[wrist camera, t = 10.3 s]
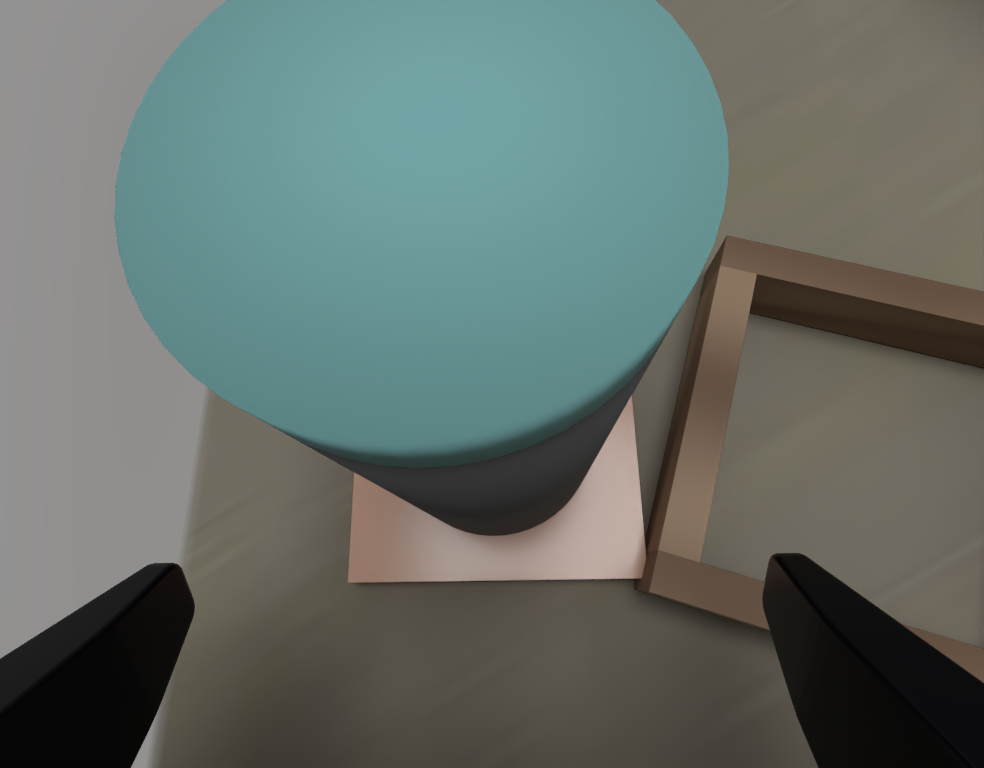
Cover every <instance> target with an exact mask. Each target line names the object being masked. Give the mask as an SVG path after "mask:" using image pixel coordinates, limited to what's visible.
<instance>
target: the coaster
mask: <svg viewBox="0 0 984 768" xmlns="http://www.w3.org/2000/svg"><path fill="white" fill-rule="evenodd" d="M645 562H646V548H645V537H644V526H643V515H642V504H641V493H640V482H639V471H638V460H637V449H636V439H635V428H634V417H633V406H632V395H631V397H630V399H629V401H628V402H627V404H626V406H625V408H624V410H623V411H622V413H621V415H620V417H619V418H618V420H617V422H616V424H615V425H614V427H613V429H612V431H611V432H610V434H609V436H608V438H607V439H606V441H605V443H604V445H603V446H602V448H601V450H600V452H599V453H598V455H597V457H596V459H595V460H594V462H593V464H592V466H591V467H590V469H589V471H588V473H587V474H586V476H585V478H584V480H583V481H582V483H581V485H580V487H579V488H578V490H577V491H576V493H575V494H574V496H573V497H572V498H571V499H570V501H569V502H568V503H567V504H566V505H565V506H564V507H563V508H562V509H561V510H560V511H559V512H558V513H556V514H555V515H554V516H553V517H551V518H550V519H548V520H547V521H545V522H544V523H542V524H540V525H538V526H536V527H533V528H531V529H528V530H525V531H522V532H519V533H515V534H510V535H501V536H486V535H477V534H472V533H468V532H464V531H462V530H459V529H456V528H453V527H451V526H450V525H448V524H446V523H444V522H442V521H440V520H439V519H437V518H435V517H433V516H431V515H430V514H428V513H426V512H424V511H422V510H421V509H419V508H417V507H415V506H414V505H412V504H410V503H408V502H406V501H405V500H403V499H401V498H399V497H397V496H396V495H394V494H392V493H390V492H389V491H387V490H385V489H383V488H381V487H380V486H378V485H376V484H374V483H373V482H371V481H369V480H367V479H365V478H364V477H362V476H360V475H358V474H356V473H355V472H354V486H353V503H352V520H351V538H350V555H349V572H348V583H358V582H427V581H495V580H564V579H633V578H642V575H643V570H644V566H645Z"/></svg>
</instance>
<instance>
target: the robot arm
mask: <svg viewBox="0 0 984 768" xmlns="http://www.w3.org/2000/svg"><path fill="white" fill-rule="evenodd" d="M762 603H763V609H764V613H765V616H766V620H767V623H768V626H769V629H770V633H771V636H772V639H773V642H774V645H775V649H776V652H777V655H778V658H779V662H780V665H781V668H782V671H783V675H784V678H785V681H786V684H787V687H788V691H789V694H790V697H791V700H792V703H793V706H794V709H795V712H796V715H797V717H798V720H799V722H800V725H801V727H802V730H803V732H804V735H805V737H806V740H807V742H808V744H809V747H810V749H811V751H812V754H813V756H814V758H815V761H816V763H817V765H818V768H984V683H983V682H982V681H981V680H979V679H978V678H976V677H975V676H974V675H972V674H971V673H969V672H968V671H967V670H965V669H964V668H962V667H961V666H960V665H958V664H957V663H955V662H954V661H953V660H951V659H950V658H948V657H947V656H946V655H944V654H943V653H941V652H940V651H939V650H937V649H936V648H934V647H933V646H931V645H930V644H929V643H927V642H926V641H924V640H923V639H922V638H920V637H919V636H917V635H916V634H915V633H913V632H912V631H910V630H909V629H908V628H906V627H905V626H903V625H902V624H901V623H899V622H898V621H896V620H895V619H894V618H892V617H891V616H889V615H888V614H887V613H885V612H884V611H882V610H881V609H880V608H878V607H877V606H875V605H874V604H873V603H871V602H870V601H868V600H867V599H865V598H864V597H863V596H861V595H860V594H858V593H857V592H856V591H854V590H853V589H851V588H850V587H849V586H847V585H846V584H844V583H843V582H842V581H840V580H839V579H837V578H836V577H835V576H833V575H832V574H830V573H829V572H828V571H826V570H825V569H823V568H822V567H821V566H819V565H818V564H816V563H815V562H814V561H812V560H811V559H809V558H808V557H806V556H805V555H803V554H800V553H776V554H773V555H772V556H771V557H770V560H769V563H768V568H767V573H766V578H765V583H764V588H763V594H762ZM194 609H195V605H194V599H193V596H192V594H191V591H190V589H189V586H188V583H187V581H186V578H185V575H184V573H183V570H182V568H181V567H180V566H179V565H178V564H175V563H154V564H150V565H147V566H146V567H144V568H142V569H141V570H139V571H138V572H136V573H135V574H133V575H131V576H130V577H128V578H127V579H125V580H123V581H122V582H120V583H119V584H117V585H116V586H114V587H113V588H111V589H110V590H108V591H106V592H105V593H103V594H101V595H100V596H98V597H97V598H95V599H94V600H92V601H90V602H89V603H87V604H86V605H84V606H83V607H81V608H79V609H78V610H77V611H75V612H73V613H72V614H70V615H68V616H67V617H65V618H64V619H62V620H61V621H59V622H57V623H56V624H55V625H53V626H51V627H49V628H48V629H46V630H45V631H43V632H42V633H40V634H38V635H37V636H35V637H34V638H32V639H31V640H29V641H27V642H26V643H24V644H23V645H21V646H20V647H18V648H16V649H15V650H13V651H12V652H10V653H8V654H7V655H5V656H4V657H2V658H1V659H0V768H131V766H132V764H133V762H134V760H135V758H136V756H137V754H138V751H139V749H140V748H141V745H142V743H143V741H144V739H145V737H146V735H147V733H148V731H149V729H150V727H151V724H152V722H153V720H154V718H155V716H156V714H157V711H158V709H159V706H160V704H161V701H162V699H163V696H164V694H165V691H166V688H167V686H168V683H169V680H170V678H171V675H172V672H173V670H174V667H175V664H176V662H177V659H178V656H179V654H180V651H181V648H182V646H183V643H184V640H185V638H186V635H187V632H188V630H189V627H190V624H191V622H192V619H193V616H194Z"/></svg>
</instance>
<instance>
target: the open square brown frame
mask: <svg viewBox="0 0 984 768" xmlns="http://www.w3.org/2000/svg"><path fill="white" fill-rule="evenodd" d="M749 312H750V313H754V314H759V315H763V316H767V317H771V318H776V319H780V320H784V321H788V322H792V323H797V324H801V325H805V326H809V327H813V328H818V329H822V330H826V331H830V332H835V333H839V334H843V335H847V336H851V337H856V338H860V339H864V340H868V341H872V342H877V343H881V344H885V345H889V346H894V347H898V348H902V349H906V350H910V351H915V352H919V353H923V354H927V355H931V356H936V357H940V358H944V359H948V360H953V361H957V362H961V363H965V364H969V365H974V366H978V367H982V368H984V292H983V291H978V290H974V289H969V288H965V287H960V286H955V285H951V284H946V283H942V282H937V281H933V280H928V279H924V278H919V277H914V276H910V275H905V274H901V273H896V272H892V271H887V270H882V269H878V268H873V267H869V266H864V265H860V264H855V263H850V262H846V261H841V260H837V259H832V258H828V257H823V256H818V255H814V254H809V253H805V252H800V251H796V250H791V249H786V248H782V247H777V246H773V245H768V244H764V243H759V242H754V241H750V240H745V239H741V238H736V237H732V236H726V238H725V240H724V241H723V243H722V245H721V247H720V248H719V250H718V252H717V254H716V255H715V257H714V259H713V261H712V262H711V264H710V266H709V268H708V269H707V271H706V273H705V277H704V282H703V286H702V291H701V295H700V299H699V304H698V308H697V313H696V317H695V322H694V326H693V330H692V335H691V339H690V344H689V348H688V353H687V357H686V362H685V366H684V370H683V375H682V379H681V384H680V388H679V393H678V397H677V401H676V406H675V410H674V415H673V419H672V424H671V428H670V432H669V437H668V441H667V446H666V450H665V455H664V459H663V464H662V468H661V472H660V477H659V481H658V486H657V490H656V495H655V499H654V503H653V508H652V512H651V517H650V521H649V526H648V530H647V534H646V539H645V548H646V562H645V566H644V570H643V575H642V578H637V579H636V583H635V588H634V589H636V590H639V591H642V592H645V593H648V594H651V595H655V596H658V597H661V598H664V599H667V600H670V601H673V602H677V603H680V604H683V605H686V606H689V607H692V608H695V609H699V610H702V611H705V612H708V613H711V614H714V615H718V616H721V617H724V618H727V619H730V620H733V621H736V622H740V623H743V624H746V625H749V626H752V627H755V628H758V629H762V630H765V631H768V632H770V629H769V626H768V623H767V620H766V616H765V613H764V609H763V603H762V594H763V588H764V583H765V582H762V581H759V580H756V579H752V578H749V577H746V576H742V575H739V574H736V573H733V572H729V571H726V570H723V569H720V568H716V567H713V566H710V565H706V564H703V563H700V559H701V554H702V549H703V544H704V539H705V534H706V529H707V524H708V519H709V514H710V509H711V504H712V499H713V494H714V488H715V483H716V478H717V473H718V468H719V463H720V458H721V453H722V448H723V443H724V438H725V433H726V428H727V423H728V418H729V413H730V408H731V402H732V397H733V392H734V387H735V382H736V377H737V372H738V367H739V362H740V357H741V352H742V347H743V342H744V337H745V332H746V327H747V322H748V316H749ZM902 625H903V624H902ZM903 626H905V627H906V628H908V629H909V630H910V631H912V632H913V633H915V634H916V635H917V636H919V637H920V638H922V639H923V640H924V641H926V642H927V643H929V644H930V645H931V646H933V647H934V648H936V649H937V650H939V651H940V652H941V653H943V654H944V655H946V656H947V657H948V658H950V659H951V660H953V661H954V662H955V663H957V664H958V665H960V666H961V667H962V668H964V669H965V670H967V671H968V672H969V673H971V674H972V675H974V676H975V677H976V678H978V679H979V680H981V681H982V682H983V683H984V649H982V648H978V647H975V646H972V645H969V644H965V643H962V642H959V641H955V640H952V639H949V638H946V637H942V636H939V635H936V634H933V633H929V632H926V631H923V630H919V629H916V628H913V627H910V626H906V625H903Z"/></svg>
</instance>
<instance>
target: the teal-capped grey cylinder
mask: <svg viewBox="0 0 984 768" xmlns="http://www.w3.org/2000/svg"><path fill="white" fill-rule="evenodd" d="M728 175H729V159H728V136H727V131H726V126H725V121H724V117H723V112H722V107H721V102H720V100H719V97H718V94H717V92H716V89H715V86H714V84H713V81H712V79H711V76H710V73H709V71H708V69H707V67H706V66H705V64H704V62H703V60H702V58H701V57H700V55H699V53H698V51H697V50H696V48H695V46H694V44H693V43H692V41H691V40H690V39H689V37H688V36H687V35H686V34H685V32H684V31H683V30H682V28H681V27H680V26H679V25H678V23H677V22H676V21H675V19H674V18H673V17H672V16H671V15H670V14H669V13H668V12H667V11H666V10H665V9H664V8H663V7H662V6H661V5H660V4H659V3H658V2H657V1H656V0H227V1H226V2H225V3H223V4H222V5H221V6H219V7H218V8H217V9H216V10H214V11H213V12H212V13H211V14H209V15H208V16H207V17H206V18H205V19H204V20H203V21H202V22H201V23H200V24H199V25H198V26H197V27H196V28H195V29H194V30H193V31H192V32H191V33H190V34H189V35H188V36H187V37H186V38H185V39H184V40H183V41H182V43H181V44H180V45H179V46H178V48H177V49H176V50H175V51H174V53H173V54H172V55H171V56H170V57H169V58H168V60H167V61H166V62H165V64H164V65H163V66H162V68H161V70H160V71H159V73H158V74H157V76H156V77H155V79H154V80H153V82H152V84H151V85H150V87H149V88H148V90H147V92H146V94H145V95H144V97H143V100H142V102H141V104H140V106H139V108H138V110H137V112H136V114H135V116H134V118H133V120H132V123H131V126H130V129H129V132H128V135H127V138H126V141H125V144H124V147H123V150H122V153H121V159H120V164H119V170H118V175H117V181H116V191H115V226H116V234H117V242H118V249H119V255H120V258H121V262H122V265H123V268H124V271H125V275H126V279H127V282H128V285H129V288H130V289H131V292H132V294H133V296H134V298H135V300H136V302H137V304H138V306H139V308H140V311H141V313H142V314H143V317H144V319H145V320H146V321H147V323H148V324H149V326H150V327H151V328H152V330H153V331H154V333H155V334H156V336H157V337H158V338H159V340H160V341H161V343H162V344H163V346H164V347H165V348H166V349H167V350H168V351H169V352H170V353H171V354H172V355H173V356H174V357H175V358H176V359H177V361H178V362H179V363H180V364H181V365H182V366H183V367H184V368H185V369H186V370H187V371H188V372H189V373H190V374H191V375H192V376H194V377H195V378H196V379H198V380H199V381H200V382H202V383H203V384H204V385H206V386H207V387H208V388H210V389H211V390H212V391H214V392H215V393H216V394H218V395H219V396H220V397H222V398H223V399H224V400H226V401H228V402H230V403H232V404H233V405H235V406H237V407H239V408H241V409H242V410H244V411H246V412H248V413H249V414H251V415H253V416H255V417H257V418H258V419H260V420H262V421H264V422H265V423H267V424H269V425H271V426H273V427H274V428H276V429H278V430H280V431H282V432H283V433H285V434H287V435H289V436H290V437H292V438H294V439H296V440H298V441H299V442H301V443H303V444H305V445H307V446H308V447H310V448H312V449H314V450H315V451H317V452H319V453H321V454H323V455H324V456H326V457H328V458H330V459H331V460H333V461H335V462H337V463H339V464H340V465H342V466H344V467H346V468H348V469H349V470H351V471H353V472H355V473H356V474H358V475H360V476H362V477H364V478H365V479H367V480H369V481H371V482H373V483H374V484H376V485H378V486H380V487H381V488H383V489H385V490H387V491H389V492H390V493H392V494H394V495H396V496H397V497H399V498H401V499H403V500H405V501H406V502H408V503H410V504H412V505H414V506H415V507H417V508H419V509H421V510H422V511H424V512H426V513H428V514H430V515H431V516H433V517H435V518H437V519H439V520H440V521H442V522H444V523H446V524H448V525H450V526H451V527H453V528H456V529H459V530H462V531H464V532H468V533H472V534H477V535H486V536H501V535H510V534H515V533H519V532H522V531H525V530H528V529H531V528H533V527H536V526H538V525H540V524H542V523H544V522H545V521H547V520H548V519H550V518H551V517H553V516H554V515H555V514H556V513H558V512H559V511H560V510H561V509H562V508H563V507H564V506H565V505H566V504H567V503H568V502H569V501H570V499H571V498H572V497H573V496H574V494H575V493H576V491H577V490H578V488H579V487H580V485H581V483H582V481H583V480H584V478H585V476H586V474H587V473H588V471H589V469H590V467H591V466H592V464H593V462H594V460H595V459H596V457H597V455H598V453H599V452H600V450H601V448H602V446H603V445H604V443H605V441H606V439H607V438H608V436H609V434H610V432H611V431H612V429H613V427H614V425H615V424H616V422H617V420H618V418H619V417H620V415H621V413H622V411H623V410H624V408H625V406H626V404H627V402H628V401H629V399H630V397H631V395H632V394H633V392H634V390H635V388H636V387H637V385H638V383H639V381H640V380H641V378H642V376H643V374H644V373H645V371H646V369H647V367H648V366H649V364H650V362H651V360H652V359H653V357H654V355H655V353H656V352H657V350H658V348H659V346H660V345H661V343H662V341H663V339H664V338H665V336H666V334H667V332H668V331H669V329H670V327H671V325H672V324H673V322H674V320H675V318H676V316H677V315H678V313H679V311H680V309H681V308H682V306H683V304H684V302H685V301H686V299H687V297H688V295H689V294H690V292H691V290H692V288H693V287H694V285H695V283H696V281H697V280H698V278H699V275H700V273H701V271H702V269H703V267H704V265H705V262H706V260H707V258H708V256H709V254H710V252H711V249H712V247H713V245H714V243H715V239H716V236H717V232H718V229H719V225H720V222H721V218H722V215H723V211H724V208H725V200H726V192H727V183H728Z"/></svg>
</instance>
